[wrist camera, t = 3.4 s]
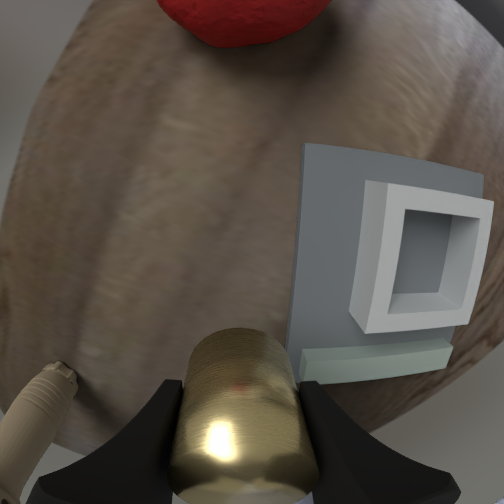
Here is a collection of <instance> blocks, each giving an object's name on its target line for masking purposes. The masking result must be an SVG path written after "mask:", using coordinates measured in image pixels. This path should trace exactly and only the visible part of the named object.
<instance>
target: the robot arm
mask: <svg viewBox="0 0 504 504" xmlns="http://www.w3.org/2000/svg"><path fill="white" fill-rule="evenodd" d="M182 392H183V387H182V380H169V379H166V380H165V381H163V383H162V384H161V386H160V387H159V388H158V390H157V391H156V392H155V394H154V395H153V396H152V397H151V399H150V400H149V401H148V402H147V403H146V405H145V406H144V407H143V408H142V409H141V410H140V412H139V413H138V414H137V415H136V416H135V417H134V418H133V419H132V420H131V421H130V422H129V423H128V424H127V425H126V426H125V427H124V428H123V429H122V430H121V431H120V432H119V433H117V434H116V435H115V436H114V437H113V438H111V439H110V440H109V441H108V442H106V443H105V444H104V445H102V446H101V447H99V448H98V449H97V450H95V451H94V452H92V453H91V454H89V455H87V456H86V457H84V458H82V459H80V460H78V461H77V462H75V463H73V464H71V465H69V466H67V467H65V468H62V469H60V470H57V471H55V472H52V473H49V474H47V475H44V476H41V477H39V478H38V480H37V481H36V483H35V484H34V486H33V489H32V491H31V493H30V495H29V497H28V500H27V502H26V504H172V494H173V491H172V490H171V488H170V487H169V485H168V483H167V478H166V477H167V470H168V464H169V459H170V453H171V448H172V442H173V437H174V432H175V427H176V422H177V417H178V412H179V407H180V402H181V397H182ZM299 398H300V401H301V405H302V409H303V413H304V417H305V420H306V424H307V428H308V432H309V436H310V439H311V443H312V447H313V451H314V455H315V459H316V463H317V466H318V470H319V480H318V483H317V485H316V487H315V488H314V489H313V490H312V491H311V492H310V493H309V494H308V495H307V496H306V497H304V498H303V499H301V500H300V501H298V502H296V503H294V504H454V503H455V502H456V501H457V500H458V498H459V496H460V494H461V491H460V489H459V487H458V485H457V483H456V482H455V480H454V479H453V477H452V475H451V474H450V473H448V472H445V471H441V470H438V469H435V468H432V467H428V466H426V465H423V464H421V463H418V462H416V461H413V460H411V459H409V458H407V457H405V456H403V455H401V454H399V453H398V452H396V451H394V450H392V449H390V448H389V447H387V446H386V445H384V444H382V443H381V442H379V441H378V440H377V439H375V438H374V437H372V436H371V435H370V434H368V433H367V432H366V431H365V430H363V429H362V428H361V427H360V426H359V425H358V424H357V423H355V422H354V421H353V420H352V419H351V418H350V417H349V416H348V415H347V414H346V413H345V412H344V411H343V410H342V409H341V408H340V407H339V406H338V405H337V404H336V403H335V401H334V400H333V399H332V398H331V397H330V396H329V395H328V394H327V392H326V391H325V390H324V389H323V388H322V386H321V385H320V384H319V383H318V382H317V381H316V380H315V381H300V388H299ZM493 504H504V497H503V498H501V499H500V500H498V501H496V502H495V503H493Z"/></svg>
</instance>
